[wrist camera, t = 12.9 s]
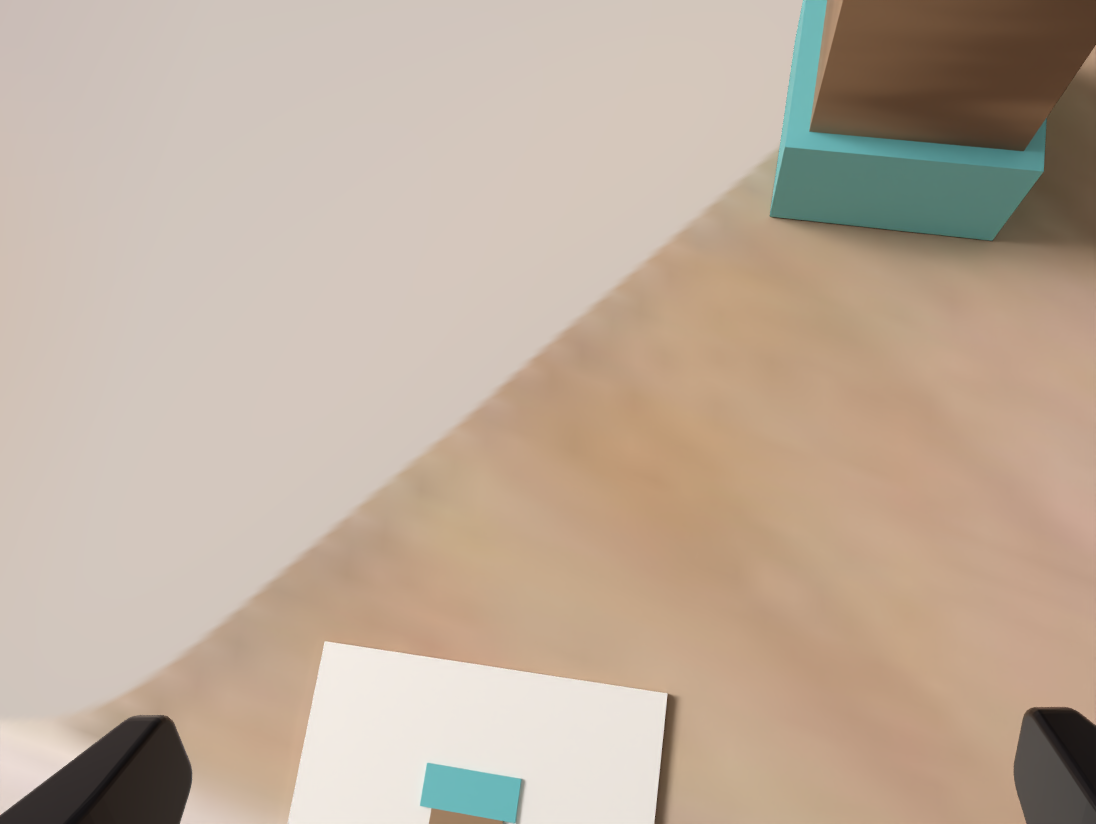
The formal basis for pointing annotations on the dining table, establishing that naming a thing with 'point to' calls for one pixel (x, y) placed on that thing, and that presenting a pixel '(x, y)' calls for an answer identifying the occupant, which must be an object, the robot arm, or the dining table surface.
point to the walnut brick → (948, 68)
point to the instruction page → (473, 745)
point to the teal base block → (890, 167)
